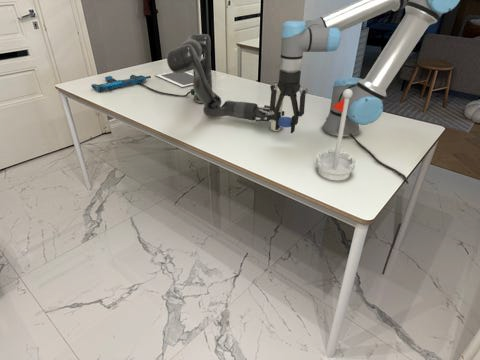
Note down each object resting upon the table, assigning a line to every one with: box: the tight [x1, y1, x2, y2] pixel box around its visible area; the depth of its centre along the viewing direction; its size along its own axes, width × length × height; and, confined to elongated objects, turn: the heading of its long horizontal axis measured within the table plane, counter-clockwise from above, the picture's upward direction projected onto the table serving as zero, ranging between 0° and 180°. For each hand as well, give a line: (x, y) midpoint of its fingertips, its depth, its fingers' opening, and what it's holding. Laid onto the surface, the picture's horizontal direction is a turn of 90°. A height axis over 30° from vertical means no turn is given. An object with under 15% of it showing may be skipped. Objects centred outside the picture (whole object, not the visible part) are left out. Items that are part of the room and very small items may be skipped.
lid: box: [278, 116, 292, 128], centre depth 130 cm, size 6×6×2 cm
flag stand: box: [315, 89, 356, 181], centre depth 112 cm, size 13×13×30 cm
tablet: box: [155, 71, 194, 88], centre depth 216 cm, size 32×20×1 cm, turn 41°
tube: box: [270, 88, 284, 132], centre depth 147 cm, size 5×5×19 cm
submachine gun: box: [90, 74, 152, 92], centre depth 206 cm, size 34×4×25 cm
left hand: (282, 115), depth 147 cm, fingers closed on tube, 4 cm apart
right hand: (284, 130), depth 131 cm, fingers closed on lid, 5 cm apart
